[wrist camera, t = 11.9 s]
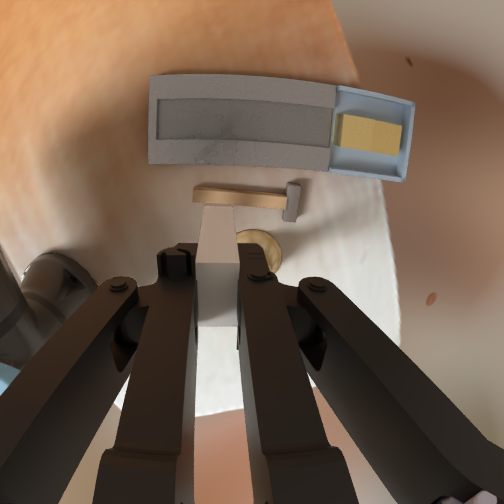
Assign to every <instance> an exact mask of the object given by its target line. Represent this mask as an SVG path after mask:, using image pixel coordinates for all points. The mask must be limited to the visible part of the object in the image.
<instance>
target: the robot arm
mask: <svg viewBox="0 0 504 504" xmlns="http://www.w3.org/2000/svg"><path fill="white" fill-rule="evenodd" d="M157 265H158V275H159V276H158V279H157V283H154V284H152V285H148V286H142V287H137V283H136V281H135V280H134V279H132V278H129V277H122V276H119V277H114V278H112V279H109V280H107V281H106V282H104V283H103V284H102V285H101V286H100V287H99V288H97V286H96V284H95V282H94V281H93V279H92V278H91V276H90V275H89V274H88V273H87V272H86V270H85V269H84V268H82V267H81V266H80V265H79V264H78V263H76V262H75V261H73V260H71V259H70V258H68V257H65V256H63V255H59V254H53V253H49V254H43V255H41V256H39V257H37V258H36V259H35V260H33V261H32V262H31V263H30V264H29V265H28V267H27V268H26V269H25V271H24V273H23V276H22V279H21V283H20V285H18V283H17V281H16V279H15V277H14V276H13V273H12V271H11V269H10V267H9V265H8V263H7V261H6V258H5V256H4V254H3V251H2V249H1V246H0V504H58V503H59V501H60V499H61V497H62V495H63V493H64V491H65V490H66V488H67V486H68V484H69V482H70V480H71V478H72V476H73V474H74V472H75V471H76V469H77V467H78V465H79V463H80V461H81V459H82V458H83V456H84V454H85V452H86V450H87V448H88V447H89V445H90V443H91V441H92V439H93V437H94V436H95V434H96V432H97V430H98V429H99V427H100V425H101V423H102V422H103V420H104V418H105V416H106V415H107V413H108V411H109V409H110V408H111V406H112V404H113V402H114V401H115V399H116V397H117V395H118V394H119V392H120V390H121V389H122V387H123V385H124V383H125V382H126V380H127V378H128V377H129V375H130V378H129V382H128V386H127V390H126V394H125V399H124V403H123V407H122V412H121V416H120V421H119V426H118V431H117V436H116V440H115V444H114V446H113V448H110V449H106V450H105V451H104V453H103V454H102V457H101V460H100V464H99V469H98V474H97V479H96V485H95V490H94V497H93V502H92V504H195V503H194V422H195V421H194V420H195V392H196V368H197V349H198V326H237V321H238V329H237V350H239V360H240V371H241V382H242V392H243V402H244V412H245V423H246V432H247V442H248V451H249V460H250V470H251V479H252V488H253V497H254V504H359V502H358V499H357V496H356V492H355V489H354V486H353V483H352V480H351V477H350V473H349V470H348V467H347V464H346V461H345V458H344V456H343V454H342V451H341V450H340V449H339V448H338V447H334V446H331V445H330V444H329V442H328V440H327V437H326V433H325V430H324V427H323V423H322V420H321V417H320V414H319V410H318V407H317V404H316V400H315V397H314V394H313V390H312V387H311V384H310V381H309V377H308V374H309V375H310V377H311V378H312V380H313V381H314V383H315V384H316V386H317V387H318V389H319V390H320V392H321V393H322V395H323V396H324V398H325V399H326V401H327V402H328V404H329V405H330V407H331V408H332V410H333V411H334V413H335V414H336V416H337V417H338V419H339V420H340V422H341V423H342V425H343V426H344V428H345V429H346V430H347V432H348V433H349V435H350V436H351V438H352V439H353V441H354V442H355V444H356V445H357V447H358V448H359V449H360V451H361V452H362V454H363V455H364V457H365V458H366V460H367V461H368V462H369V464H370V465H371V467H372V468H373V470H374V471H375V473H376V474H377V475H378V477H379V478H380V480H381V481H382V483H383V484H384V485H385V487H386V488H387V490H388V491H389V492H390V494H391V495H392V497H393V498H394V499H395V501H396V502H397V503H398V504H504V449H502V448H500V447H499V446H497V445H495V444H493V443H492V442H490V441H488V440H487V439H486V438H485V437H484V436H483V435H482V434H481V432H480V431H479V430H478V429H477V428H476V427H475V426H474V425H473V424H472V423H471V422H470V421H469V419H468V418H466V416H465V415H463V413H462V412H461V411H460V410H459V409H458V408H457V407H456V406H455V405H454V404H453V403H452V402H451V400H450V399H449V398H448V397H447V396H446V395H445V394H444V393H443V392H442V391H441V390H440V389H439V388H438V387H437V386H436V385H435V384H434V383H433V382H432V381H431V380H430V379H429V378H428V377H427V376H426V375H425V374H424V373H423V371H421V370H420V368H419V367H418V366H417V365H416V364H415V363H414V362H413V361H412V360H411V359H410V358H409V357H408V356H407V355H406V354H405V353H404V352H403V351H402V350H401V349H400V348H399V347H398V346H397V345H396V344H395V343H394V342H393V341H392V340H391V339H390V338H389V337H388V336H387V335H386V334H385V333H384V332H383V331H382V330H381V329H380V328H379V327H378V326H377V325H376V324H375V323H374V322H373V321H372V320H370V319H369V318H368V317H367V316H366V315H365V314H364V313H363V312H362V311H361V310H360V309H359V308H358V307H357V306H356V305H355V304H354V303H353V302H352V301H351V300H350V299H349V298H348V297H347V296H346V295H345V294H344V293H343V292H342V291H341V290H339V289H338V288H337V287H336V286H335V285H334V284H333V283H332V282H330V281H329V280H326V279H324V278H321V277H307V278H304V279H302V280H301V281H300V282H299V286H298V287H294V286H289V285H284V284H282V283H279V282H278V279H277V276H276V275H275V274H274V273H273V272H271V271H270V270H269V266H268V263H267V260H266V256H265V253H264V250H263V248H262V247H261V246H260V245H259V244H257V243H237V238H236V230H235V222H234V214H233V206H204V210H203V216H202V222H201V229H200V235H199V242H198V243H178V244H177V245H176V246H175V247H172V248H167V249H164V250H162V251H160V252H159V253H158V254H157ZM307 372H308V374H307ZM130 373H131V374H130Z"/></svg>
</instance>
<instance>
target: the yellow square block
mask: <svg viewBox="0 0 504 504" xmlns="http://www.w3.org/2000/svg"><path fill="white" fill-rule="evenodd" d="M373 128H374V120H373V119H368V118H363V117H358V116H352V115H346V114H337V113H336V117H335V127H334V136H333V144H334V145H337V146H339V147H344V148H352V149H358V150H365V151H371V144H372V136H373Z"/></svg>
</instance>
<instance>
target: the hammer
mask: <svg viewBox="0 0 504 504" xmlns="http://www.w3.org/2000/svg"><path fill="white" fill-rule="evenodd" d="M300 192H301V186H300V184H295V183H287V186H286V193H285V194H276V193H266V192H255V191H244V190H232V189H219V188H205V187H194V189H193V202H201V203H215V204H228V205H241V206H253V207H264V208H275V209H283V214H282V219H283V221H286V222H296V217H297V211H298V205H299V199H300Z"/></svg>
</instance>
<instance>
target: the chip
mask: <svg viewBox="0 0 504 504" xmlns="http://www.w3.org/2000/svg"><path fill="white" fill-rule="evenodd" d="M401 131H402V126H401V125H396V124H392V123H387V122H382V121H378V120H374V128H373V136H372V144H371V151H370V152H376V153H382V154H388V155H393V156H398V153H399V146H400V139H401Z"/></svg>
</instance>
